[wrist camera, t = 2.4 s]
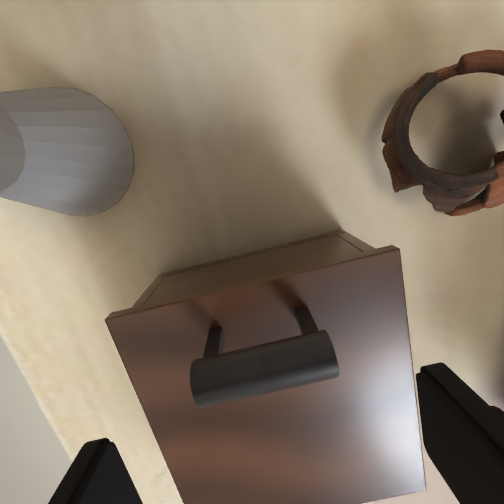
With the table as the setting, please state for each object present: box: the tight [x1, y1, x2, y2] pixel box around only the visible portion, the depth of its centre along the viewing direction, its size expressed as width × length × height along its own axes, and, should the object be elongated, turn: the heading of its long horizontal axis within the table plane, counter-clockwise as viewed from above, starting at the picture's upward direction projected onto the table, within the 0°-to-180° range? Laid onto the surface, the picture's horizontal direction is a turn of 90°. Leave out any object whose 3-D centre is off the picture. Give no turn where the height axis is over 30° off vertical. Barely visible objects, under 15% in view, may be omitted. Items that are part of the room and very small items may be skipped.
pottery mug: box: [382, 50, 504, 216], centre depth 18 cm, size 12×9×8 cm
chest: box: [132, 230, 375, 308], centre depth 21 cm, size 16×15×8 cm
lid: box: [105, 245, 426, 504], centre depth 15 cm, size 16×15×5 cm
